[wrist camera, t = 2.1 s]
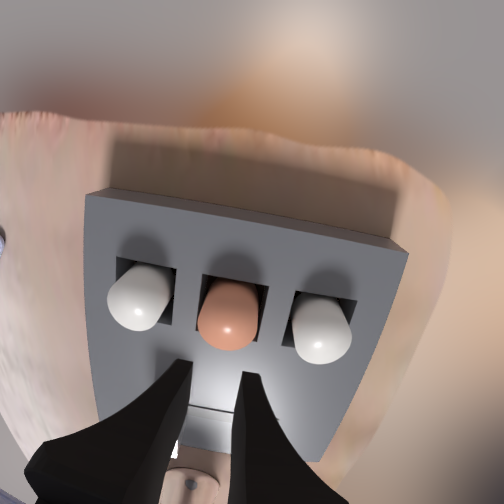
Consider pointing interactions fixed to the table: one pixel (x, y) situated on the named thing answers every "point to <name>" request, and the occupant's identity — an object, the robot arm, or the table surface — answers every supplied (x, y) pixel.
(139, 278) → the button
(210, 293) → the middle button
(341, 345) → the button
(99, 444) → the robot arm
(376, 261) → the control panel
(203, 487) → the beer glass
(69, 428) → the table surface
